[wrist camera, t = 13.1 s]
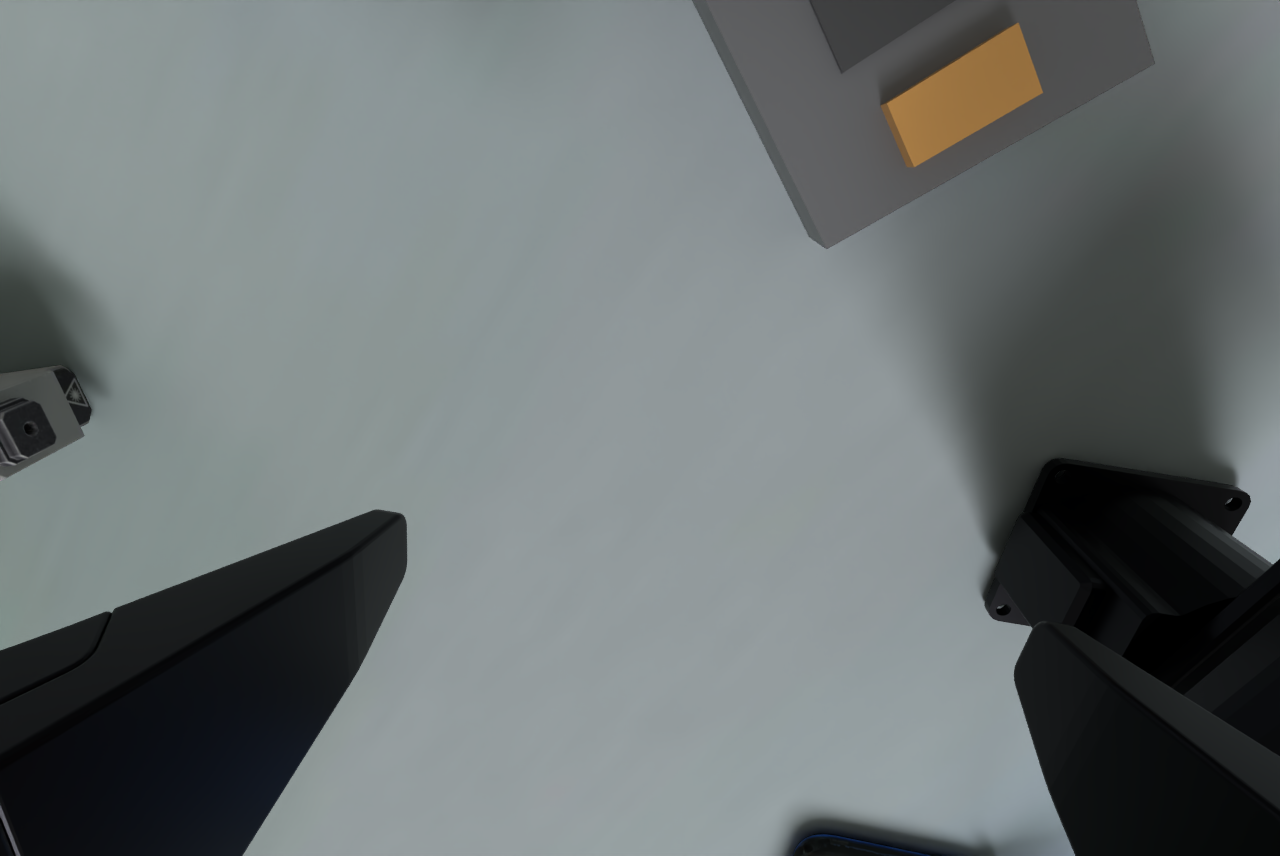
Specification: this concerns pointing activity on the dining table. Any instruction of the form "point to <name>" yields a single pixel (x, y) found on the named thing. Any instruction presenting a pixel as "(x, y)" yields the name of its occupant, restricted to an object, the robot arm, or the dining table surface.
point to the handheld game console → (845, 847)
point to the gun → (38, 415)
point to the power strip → (910, 88)
